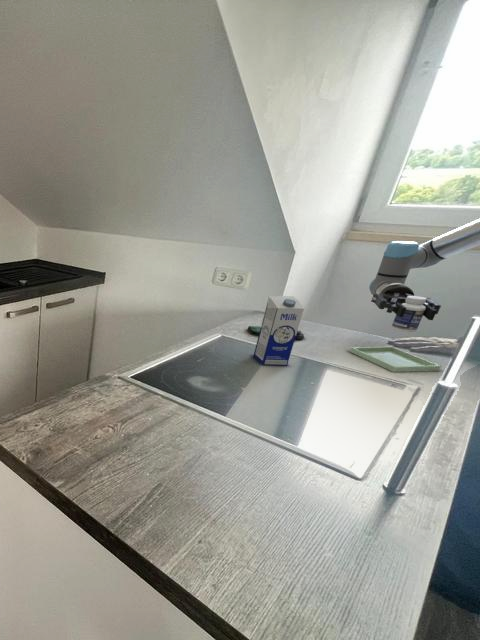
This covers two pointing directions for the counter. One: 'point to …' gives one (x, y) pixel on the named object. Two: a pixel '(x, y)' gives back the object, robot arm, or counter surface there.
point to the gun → (256, 330)
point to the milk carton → (278, 330)
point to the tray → (394, 359)
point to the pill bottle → (410, 314)
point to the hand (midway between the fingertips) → (417, 314)
